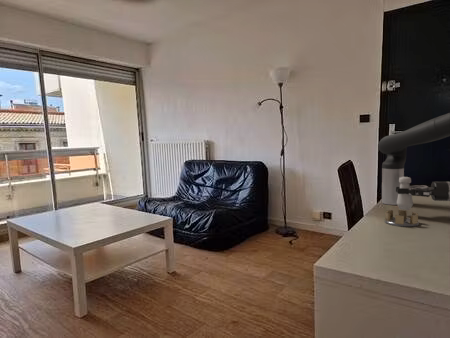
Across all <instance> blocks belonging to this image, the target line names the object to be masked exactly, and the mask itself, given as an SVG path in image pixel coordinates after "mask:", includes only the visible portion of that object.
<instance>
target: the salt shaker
mask: <svg viewBox="0 0 450 338" xmlns="http://www.w3.org/2000/svg"><path fill="white" fill-rule="evenodd" d="M399 183H401V184H400V188H408V189H409V188H410V186H411V185H410V184H411V183H412V178H411V177H410V176H409V177H408V176H404V177H400V178H399ZM413 205H414V201H413V196H412V195H409V193H408V194H398V198H397V205H396V206H397V207H398V209H399V210H406V211H408V210H411V209H412V207H413Z"/></svg>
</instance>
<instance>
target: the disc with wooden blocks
mask: <svg viewBox="0 0 450 338" xmlns="http://www.w3.org/2000/svg"><path fill="white" fill-rule="evenodd" d="M384 213H385V214H384V223H385V224H386V225H390V226H395V227H401V228H407V227H408V228H414V227H418V226H419V223H420V222H419V214H418V213H417V212H415V211H412V212H411V215H409V218H408V210H403V209H399V210H398V214H395V217H394V210H393V209H391V210H386V211H385V212H384Z"/></svg>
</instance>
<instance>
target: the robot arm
mask: <svg viewBox="0 0 450 338" xmlns="http://www.w3.org/2000/svg"><path fill="white" fill-rule="evenodd" d="M449 137H450V112H448V113H445V114H443V115H439V116H436V117H434V118H431V119H429V120H426V121H424V122H422V123H419V124H417V125H414V126H412V127H410V128H408V129H406V130H403V131H399V132H397V133H392V134H389V135H385V136H384V137H382V138H381V139H380V141H378V145H377V146H378V150H379V151H380V153H382V154H384V155H386V159H385V160H384V161H383V162H382V165H381V203H382V204H384V205H393V206H398V205H397V198H398V194H408V193H409V195H412V197H413V196H415V197H425V198H429V197H430V196H431V199H432V200H433V201H435V202H442V201H443V202H450V181H432V182H431V184H430V186H427V185H426V184H425V185H423V184H422V185H410V188H409V189H408V188H400V184H401V183H399V178H400V177H405V172H404V171H405V163H406V160H407V148H408V147H412V146H417V145H422V144H427V143H431V142H436V141H439V140H442V139H446V138H449Z"/></svg>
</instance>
